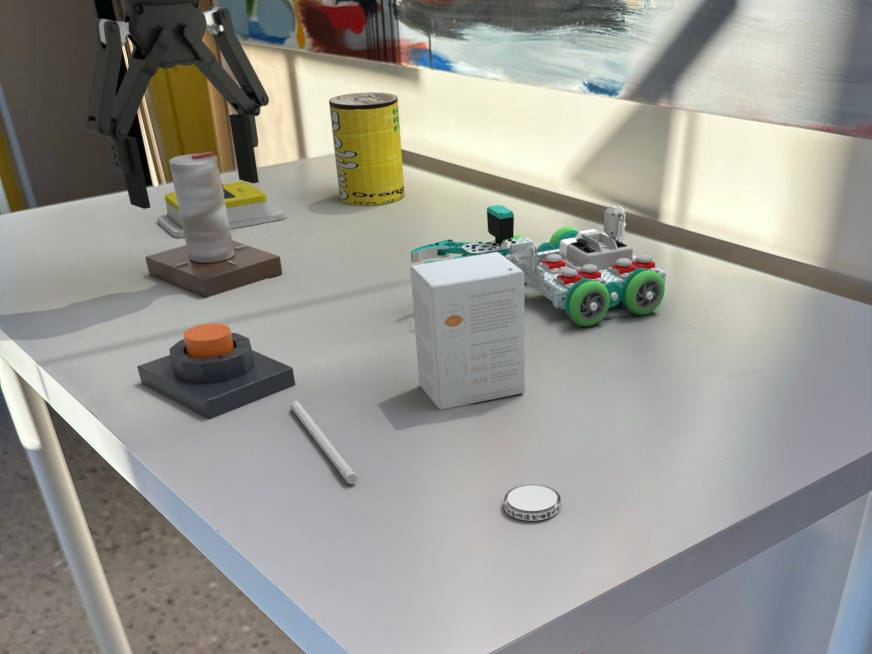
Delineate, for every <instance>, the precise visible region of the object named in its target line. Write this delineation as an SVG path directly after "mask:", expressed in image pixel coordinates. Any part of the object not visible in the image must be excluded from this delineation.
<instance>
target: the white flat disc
mask: <svg viewBox="0 0 872 654" xmlns="http://www.w3.org/2000/svg"><path fill="white" fill-rule="evenodd" d="M561 504H562V497H561V495H560V493H559V492H558V491H557V490H555V489H554V488H552V487H549V486H548V485H547V486H546V485H543V484H522V485H518V486H515V487H513V488H511V489H510V490H508V491H507V492H506V493H505V494H504V497H503V508H504V511H505V512H506V513H507V514H508V516H510V517H513V518H514V519H518V520H521V521H529V522H531V521H533V522H534V521H535V522H536V521H543V520H547V519H549V518H552V517H554V516H555V515H557V514H558V513H559V512H560V510H561Z"/></svg>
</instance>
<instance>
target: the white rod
mask: <svg viewBox="0 0 872 654" xmlns="http://www.w3.org/2000/svg"><path fill="white" fill-rule="evenodd" d="M290 409H291V410H292V411H293V413H294V414H295V416H296V417H297V418H298V419H299V420H300V421H301V423H302V424H303V426H304V427H305V428H306V430H307V431H308V433H309V434H310V435H311V436H312V438H313V439H314V440H315V441H316V443H317V444H318V446H319V447H320V448H321V449H322V451H323V452H324V453H325V455H326V456H327V457H328V459H329V460H330V461H331V463H332V464H333V465H334V466H335V468H336V469H337V470H338V472H339V474H340V475H341V476H342V478H343V479H344V480H345V482H346V483H347V484H350V485H353V484H354V483H355V484H356V482H357V480H358V475H357V474H356V473H355V471H354V470H353V468H352V467H351V466H350V465H348V463H347V462H346V460H345V459H344V458H343V457H342V455H341V454H340V453H339V452H338V450H337V449H336V447H334V445H333V444H332V442H331V441H330V440H329V438H328V437H326V435H325V434H324V432H323V431H322V430H321V429H320V427H319V426H318V425H317V424H316V422H315V420H313V418H312V417H311V416H310V415H309V413H308V412H307V410H305V408H304V407H303V405H301V403H300V402H299V401H298V400H293V401H291V403H290Z"/></svg>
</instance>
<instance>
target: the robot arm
mask: <svg viewBox="0 0 872 654" xmlns="http://www.w3.org/2000/svg"><path fill="white" fill-rule="evenodd" d="M120 1H121V3H122V5H123V6H122V7H123V9H124V18H123V21H116V20H112V19H106V18H97V19H96V20H95V21H94V28H95V29H94V30H95V36H96V43H97V48H96V55H95V61H94V66H93V73H92V78H91V79H92V80H91V81H92V82H91V86H90V92H89V97H88V106H87V110H86V117H85V129H86V130H87V131H88V132H90V133H93V134H97V135H101V136H104V137H105V138H106V139H107V141H108V143H109V144H108V145H109V148H110V152H111V157H112V161H113V165H114V169H115V170H116V172H117V173H119V174H122V175H123V176H124V180H125V185H126V190H127V193H128V198H129V202H130V205H132V206H134V207H138V208H141V209H143V210H147V209H151V202H150V198H149V192H148V189H147V183H146V179H145V174H144V170H143V165H142V160H141V156H140V151H139V146H138V141H137V138H136V137H133V136H128V135H129V132H130V130H131V127H132V125H133V122H134V120H135V118H136V115H137V113H138V111H139V108H140V106H141V104H142V101H143V99H144V96H145V94H146V91H147V89H148V87H149V84H150V82H151V79H152V78H153V77H154V76H155V75H156V74H157V72H158V70H159V69H163V70H167V69H173V68H174V67H176V66H178V65H179V66H183V67H187V66H193V65H194V66H195V67H196V68H197V69H198V70H199V71H200V73H202V75H203V77H205V78H206V79H207V80H208V81H209V83H210V84H211V85H212V86H213V87H214V88H215V89H216V91H217V92H218V93H219V94H220V95H221V96H222V97H223V99H225V100H226V102H227V103H228V104H229V105H230V106H231V108H232V109H233V110H234V111H235V112H237V113H232V114H228V115H229V116H228V117H229V123H230V130H231V137H232V144H233V149H234V156H235V161H236V168H237V176H238V180H240V181H243V182H247V183H249V184H252V185H253V184H258V183H260V182H259V173H258V167H257V161H256V153H255V148H258V147H259V135H258V127H257V122H256V117H258V116H260V114H261V108H262V107H267V106H268V105H269V104H270V98H269V95H268V93H267V91H266V89H265V88H264V86H263V83H262V82H261V80H260V78H259V76H258V74H257V73H256V70H255V69H254V66H253V65H252V63H251V61H250V58H249V57H248V55H247V54H246V52H245V49H244V48H243V46H242V44H241V42H240V40H239V38H238V37H237V34H236V33H235V28H234V24H233V20H232V15H231V12H230V10H229V9H228V8H226V7H219V6H209V7H208V8H207V9H206V11H203V10H202V8H201V6H200V0H120ZM206 30H207V31H208V33H209V34H211V35H212V37H213V40H214V42H215V44H216V46H217V47H218V50H219V51H220V53H221V55H222V56H223V58H224V60H225V62H226V63H227V66H228V67H229V69H230V71H231V73H232V74H233V75H232V76H233V77H234V78H235V80H236V81H235V80H234V78H232V76H231V75H230V74H229V73H228V71H227V70H226V69H225V68H224V67H223V66H222V64H220V62H219V60H217V59H216V55H215V54H214V53H213V51H212V50H211V48H209V47H208V45H207V44H206V43H205V42H204V41H203V40H204V36H205V34H206ZM126 38H127V39H128V40H129V41H130V42H131V43H132V45H133V48H132V50H131V53H130V56H129V58H128V61H127V69H126V72H125V74H124V77H123V79H122V82H121V84H120V87H119V89H118V91H117V87H118V80H119V74H120V69H121V64H122V63H121V62H122V55H123V47H124V46H125V44H126V43H127V42H126V41H127V40H126ZM116 92H117V94H116Z"/></svg>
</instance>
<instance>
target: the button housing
mask: <svg viewBox="0 0 872 654" xmlns="http://www.w3.org/2000/svg"><path fill="white" fill-rule="evenodd" d="M231 334H232V340H233V345H234V350H233V351H231V352H229V353H226V354H223V355H220V356H215V357H208V358H198V357H191V356H189V355H188V354H187V349H186V345H185V340H184V338H182V339H180V340H178V341H177V342H176V343H174V344H173V345H172V346H171V347H170V348H169V354H168V355H165V356H162V357H159V358H156V359H154V360H151V361H148V362H145V363H142V364H139V365H137V366H136V368H137V372H138V375H139V379H140V383H141V384H142V385H143V386H146V387H147V388H149V389H151V390H152V391H155V392H156V393H158V394H161V395H163V396H164V397H166V398H168V399H170V400H171V401H174V402H175V403H177V404H179V405H181V406H183V407H185V408H188V409H189V410H191V411H193V412H194V413H196V414H198V415H200V416H202V417H204V418H206V419H208V420H212V419H214V418H217V417H219V416H222V415H225V414H226V413H230V412H233V411H234V410H237V409H239V408H242V407H245V406H247V405H250V404H252V403H255V402H257V401H259V400H262V399H265V398H267V397H270V396H272V395H274V394H277V393H280V392H282V391H284V390H287V389H290V388H292V387H294V386H296V381H295V380H296V379H295V374H294V368H293V367H292V366H289V365H287V364H285V363H283V362H281V361H278V360H276V359H273V358H272V357H269V356H267V355H264V354H262V353H260V352H257V351H255V350H253V349H252V344H251V339H250V338H249V337H247V336H245V335H243V334H240V333H237V332H231Z"/></svg>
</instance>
